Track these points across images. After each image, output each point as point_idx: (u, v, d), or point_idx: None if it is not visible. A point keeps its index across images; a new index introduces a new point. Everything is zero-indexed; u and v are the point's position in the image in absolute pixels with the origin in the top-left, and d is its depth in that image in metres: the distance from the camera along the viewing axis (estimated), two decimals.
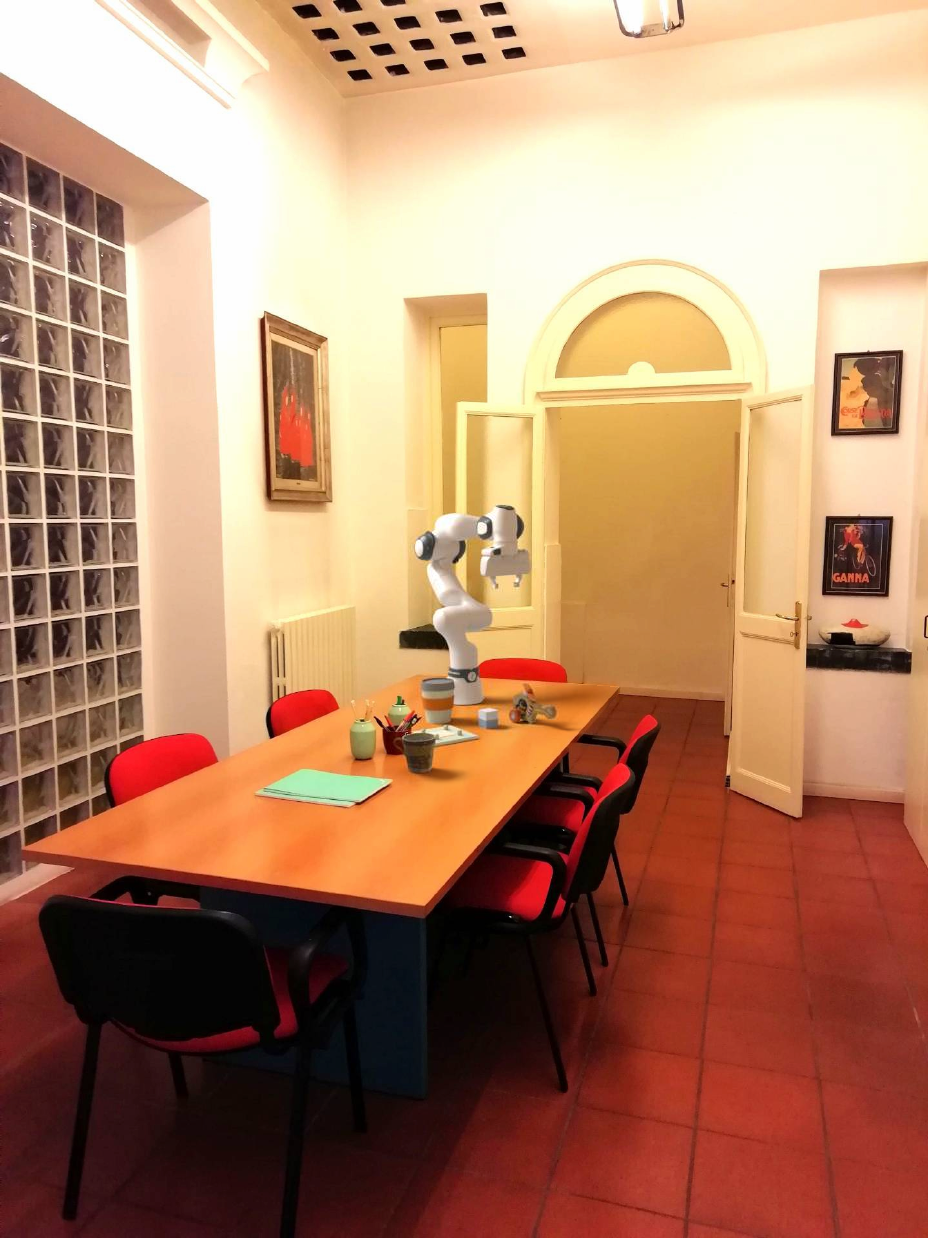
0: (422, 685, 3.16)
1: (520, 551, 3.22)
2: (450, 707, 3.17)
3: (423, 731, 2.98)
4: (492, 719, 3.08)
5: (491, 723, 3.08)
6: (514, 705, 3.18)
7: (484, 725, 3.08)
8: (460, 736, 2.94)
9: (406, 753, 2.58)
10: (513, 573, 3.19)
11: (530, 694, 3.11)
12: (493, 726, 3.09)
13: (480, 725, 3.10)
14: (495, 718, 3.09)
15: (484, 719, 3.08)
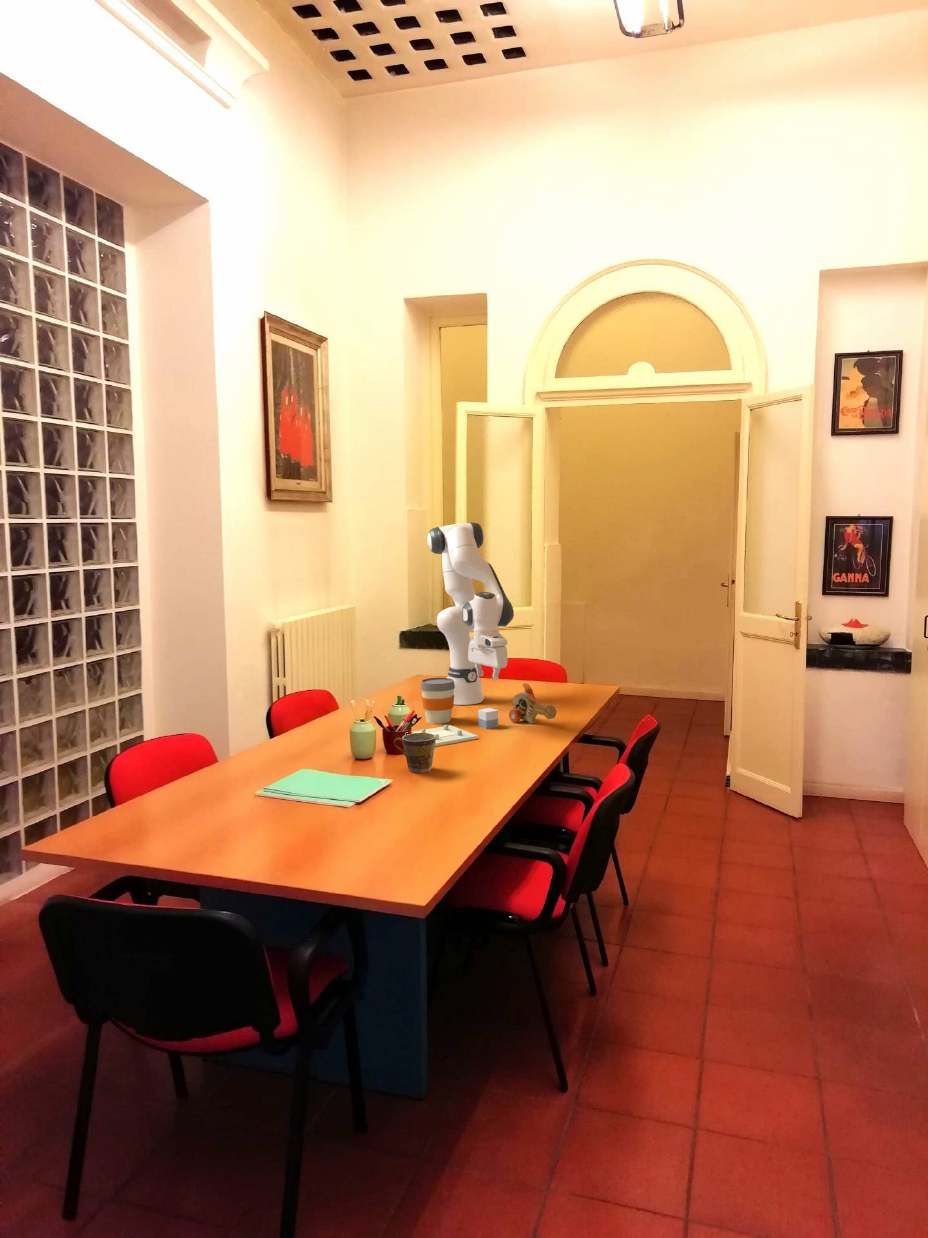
0: (422, 685, 3.16)
1: None
2: (450, 707, 3.17)
3: (423, 731, 2.98)
4: (492, 719, 3.08)
5: (491, 723, 3.08)
6: (514, 705, 3.18)
7: (484, 725, 3.08)
8: (460, 736, 2.94)
9: (406, 753, 2.58)
10: None
11: (529, 694, 3.11)
12: (493, 726, 3.09)
13: (480, 725, 3.10)
14: (495, 718, 3.09)
15: (484, 719, 3.08)
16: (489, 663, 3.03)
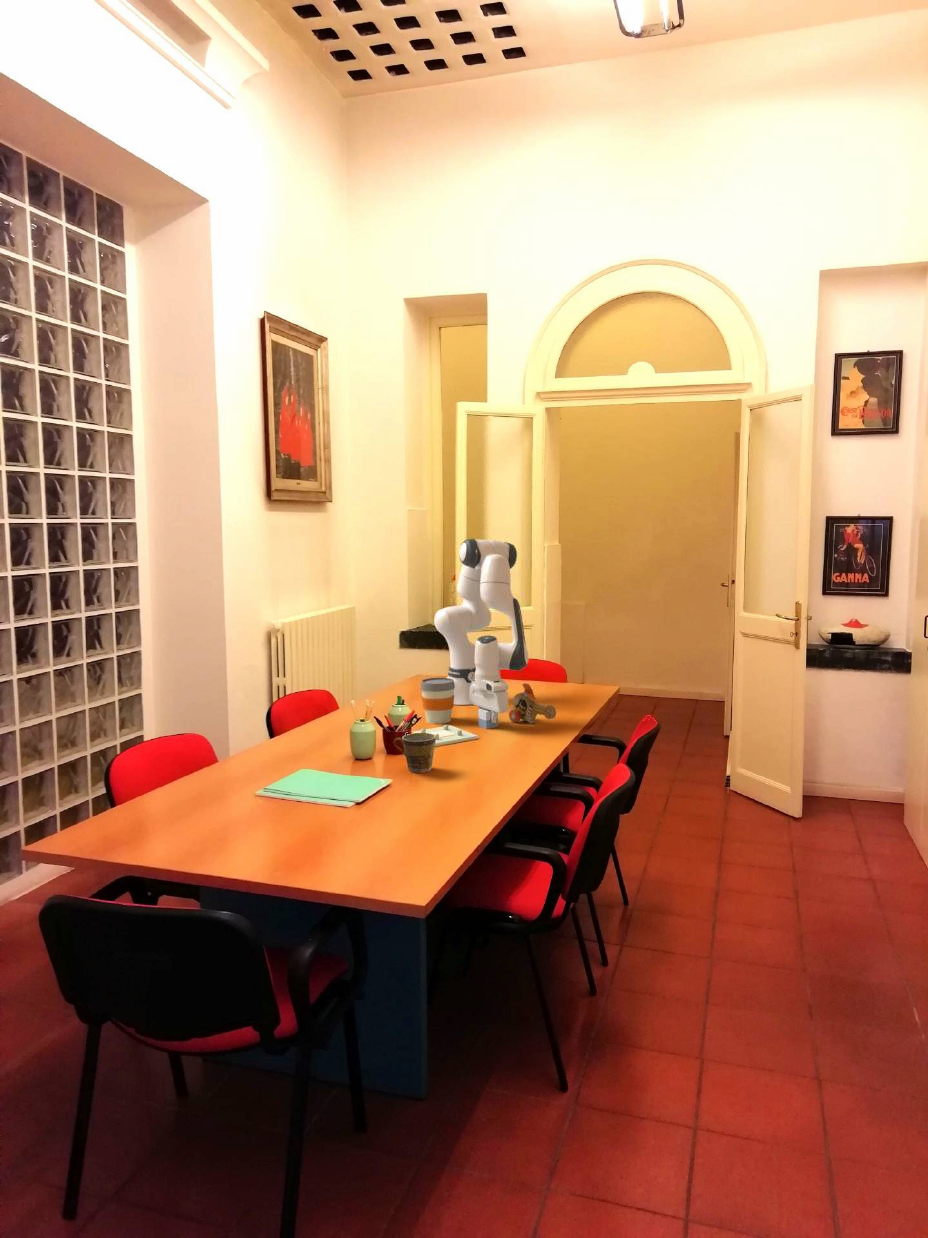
0: (422, 685, 3.16)
1: None
2: (450, 707, 3.17)
3: (423, 731, 2.98)
4: None
5: (491, 723, 3.08)
6: (514, 705, 3.18)
7: (484, 725, 3.08)
8: (460, 736, 2.94)
9: (406, 753, 2.58)
10: None
11: (529, 694, 3.11)
12: (493, 726, 3.09)
13: (480, 725, 3.10)
14: None
15: (484, 719, 3.08)
16: (490, 707, 3.05)
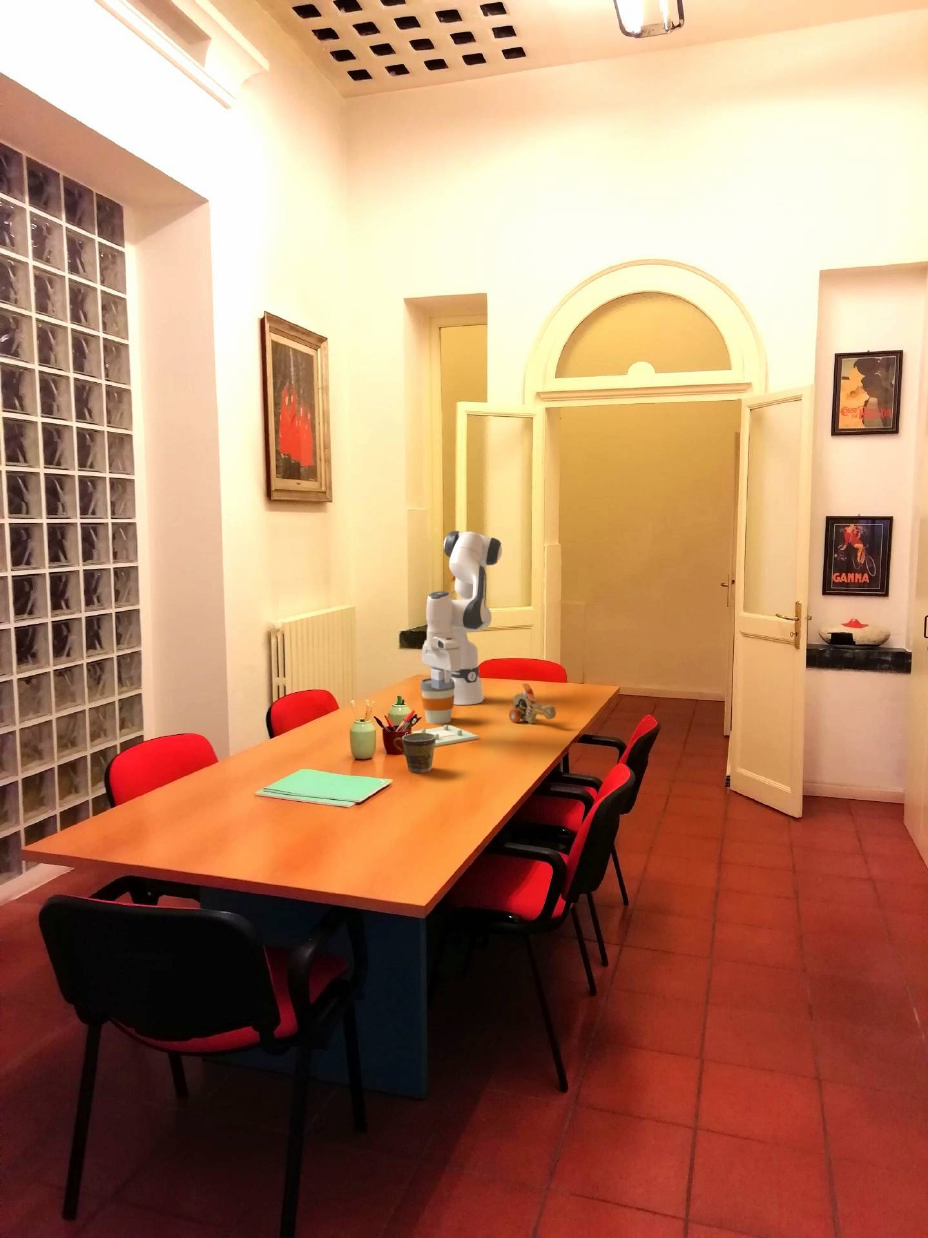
0: (422, 685, 3.16)
1: None
2: (450, 707, 3.17)
3: (423, 731, 2.98)
4: None
5: (444, 683, 2.92)
6: (514, 705, 3.18)
7: (436, 685, 2.93)
8: (460, 736, 2.94)
9: (406, 753, 2.58)
10: None
11: (529, 694, 3.10)
12: (446, 686, 2.93)
13: (433, 685, 2.95)
14: None
15: (437, 679, 2.92)
16: (442, 666, 2.89)
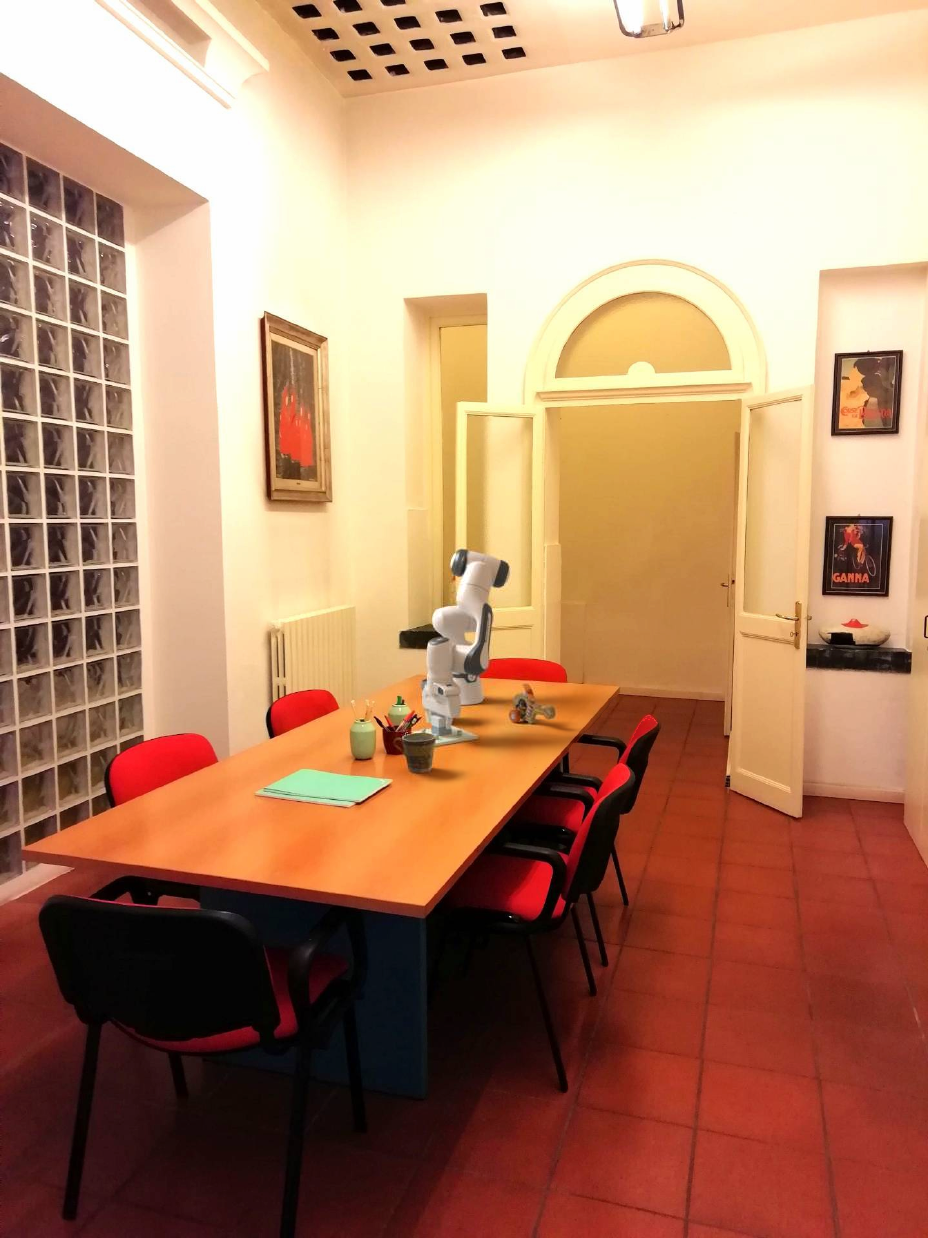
0: (422, 685, 3.16)
1: None
2: None
3: (423, 731, 2.98)
4: None
5: (444, 730, 2.95)
6: (514, 705, 3.18)
7: (436, 732, 2.95)
8: (460, 736, 2.94)
9: (406, 753, 2.58)
10: None
11: (529, 694, 3.10)
12: (446, 733, 2.95)
13: (433, 732, 2.97)
14: None
15: (437, 726, 2.94)
16: (442, 712, 2.91)
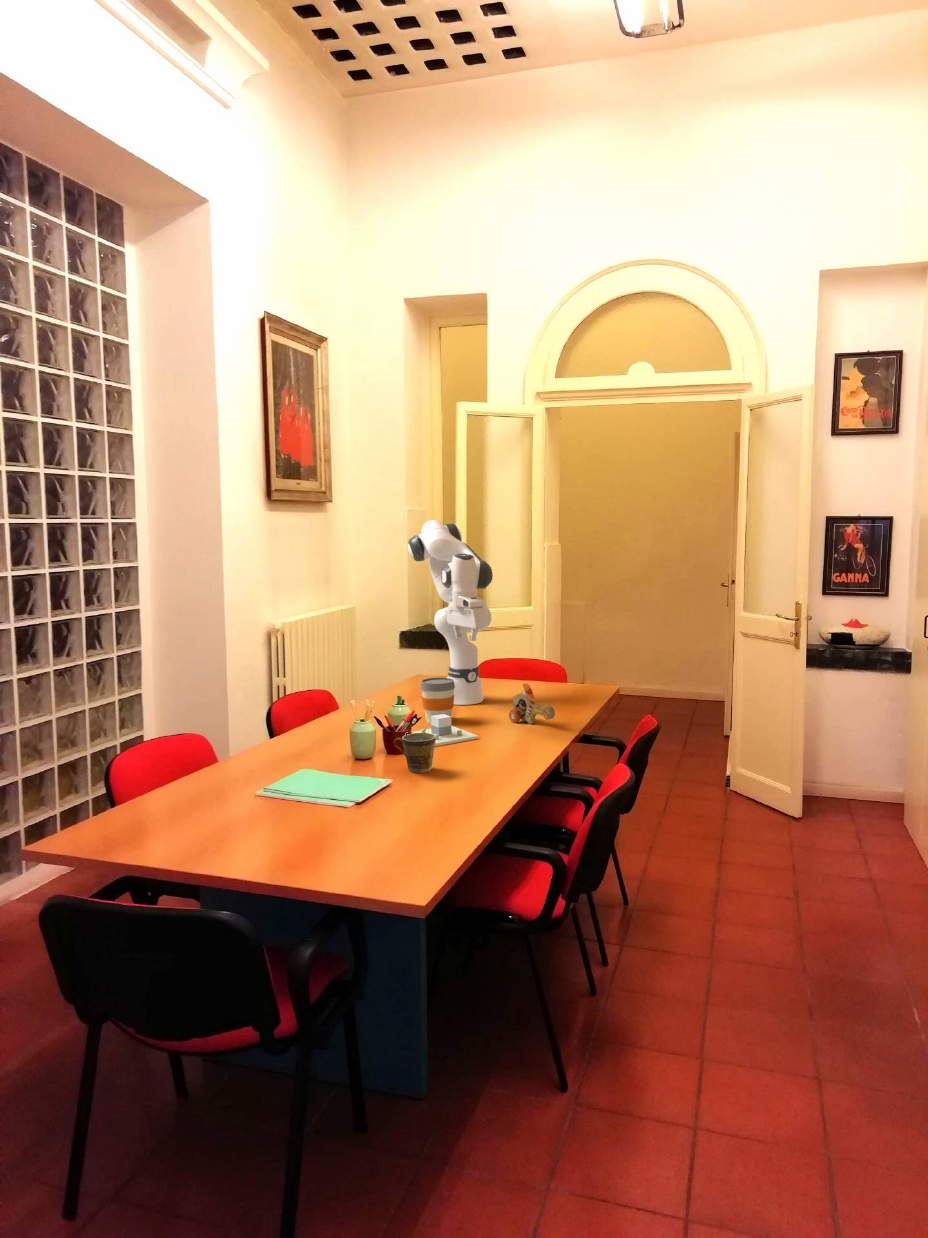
0: (422, 685, 3.16)
1: None
2: (450, 707, 3.17)
3: (423, 731, 2.98)
4: (445, 726, 2.95)
5: (444, 730, 2.95)
6: (514, 705, 3.18)
7: (436, 732, 2.95)
8: (460, 736, 2.94)
9: (406, 753, 2.58)
10: None
11: (529, 694, 3.10)
12: (446, 733, 2.95)
13: (433, 732, 2.97)
14: (448, 725, 2.95)
15: (437, 726, 2.94)
16: (467, 624, 3.04)
